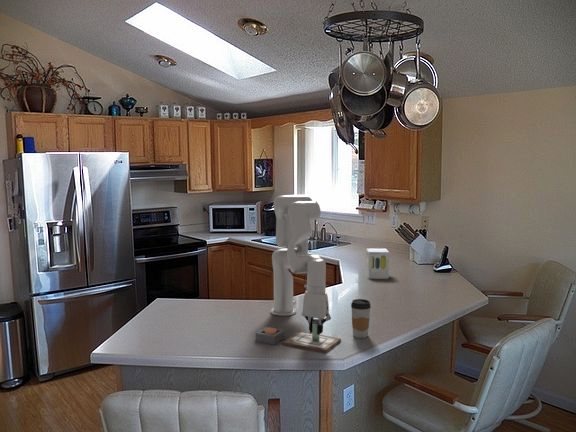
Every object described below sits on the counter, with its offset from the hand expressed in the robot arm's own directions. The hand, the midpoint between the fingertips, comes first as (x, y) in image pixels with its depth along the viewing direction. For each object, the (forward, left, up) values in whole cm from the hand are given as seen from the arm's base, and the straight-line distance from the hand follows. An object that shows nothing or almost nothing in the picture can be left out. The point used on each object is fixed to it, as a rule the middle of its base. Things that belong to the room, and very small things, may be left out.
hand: (315, 332), depth 202 cm
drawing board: (+1, -1, -4) cm, 5 cm away
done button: (+6, -18, -2) cm, 19 cm away
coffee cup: (-17, +13, -5) cm, 22 cm away
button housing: (+6, -18, -4) cm, 20 cm away
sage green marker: (0, 0, -3) cm, 3 cm away
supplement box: (-126, -18, -5) cm, 128 cm away
